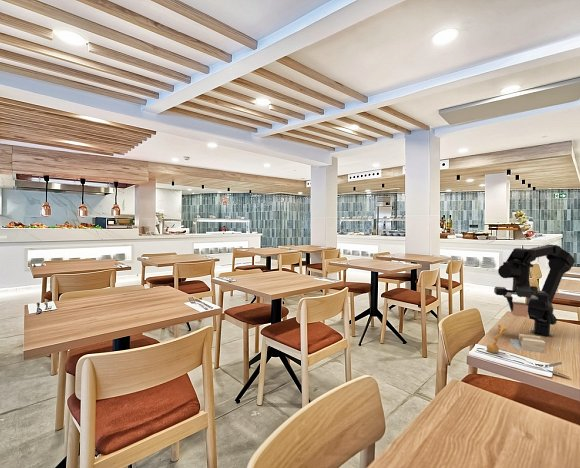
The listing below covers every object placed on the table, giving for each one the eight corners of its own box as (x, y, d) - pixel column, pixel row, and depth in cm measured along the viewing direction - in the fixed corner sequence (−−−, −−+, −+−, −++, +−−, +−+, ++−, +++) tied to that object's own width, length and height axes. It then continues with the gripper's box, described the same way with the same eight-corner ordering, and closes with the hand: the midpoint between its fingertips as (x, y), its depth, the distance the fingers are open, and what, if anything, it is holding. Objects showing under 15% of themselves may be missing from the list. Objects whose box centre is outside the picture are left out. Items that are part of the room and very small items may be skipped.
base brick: (518, 343, 133) (518, 333, 133) (539, 346, 130) (539, 336, 130) (522, 349, 127) (523, 339, 127) (544, 352, 124) (545, 342, 124)
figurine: (488, 348, 129) (490, 319, 128) (506, 353, 125) (508, 322, 124) (484, 355, 122) (486, 324, 122) (503, 359, 118) (504, 328, 118)
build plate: (508, 339, 138) (509, 338, 138) (537, 343, 134) (537, 342, 134) (515, 350, 127) (515, 348, 127) (546, 354, 123) (546, 353, 123)
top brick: (510, 312, 143) (511, 301, 143) (524, 314, 141) (525, 302, 141) (513, 315, 138) (514, 304, 138) (527, 317, 136) (528, 305, 136)
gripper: (499, 278, 135) (497, 314, 136) (554, 282, 128) (551, 321, 129) (494, 274, 146) (492, 307, 146) (545, 278, 138) (543, 313, 139)
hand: (519, 312), depth 140 cm, fingers closed on top brick, 5 cm apart
